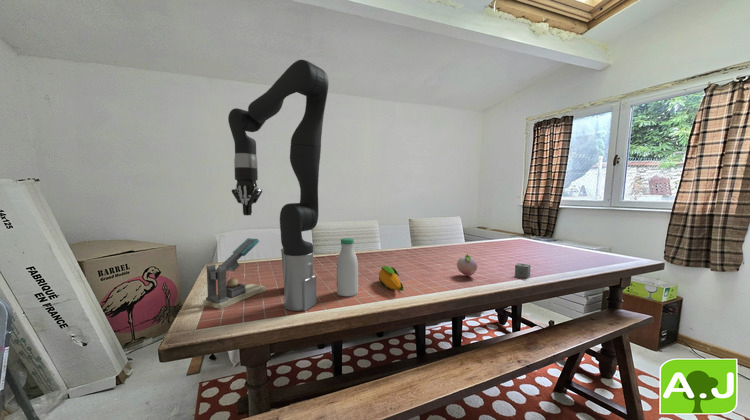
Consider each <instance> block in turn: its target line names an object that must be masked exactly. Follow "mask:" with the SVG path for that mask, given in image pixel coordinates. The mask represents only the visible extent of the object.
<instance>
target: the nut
mask: <svg viewBox="0 0 750 420" xmlns="http://www.w3.org/2000/svg"><path fill="white" fill-rule="evenodd" d="M238 284H239V280H238V279H237V278H235V277H232V278H229V279H228V280H227V281H226V285H227V287H228V288H230V289H233V288H236V287H237V286H238Z"/></svg>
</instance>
